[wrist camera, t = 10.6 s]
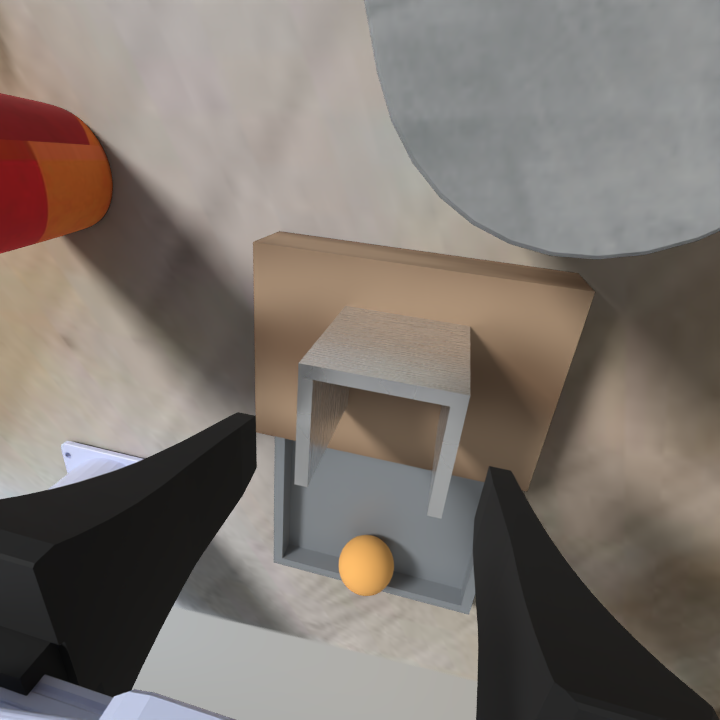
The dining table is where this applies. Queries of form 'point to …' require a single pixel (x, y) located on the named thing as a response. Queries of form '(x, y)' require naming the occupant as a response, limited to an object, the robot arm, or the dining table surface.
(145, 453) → the dining table surface
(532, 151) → the hip flask
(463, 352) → the grey arch
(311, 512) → the tray
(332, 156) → the dining table surface
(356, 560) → the ball
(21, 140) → the coffee cup
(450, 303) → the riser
